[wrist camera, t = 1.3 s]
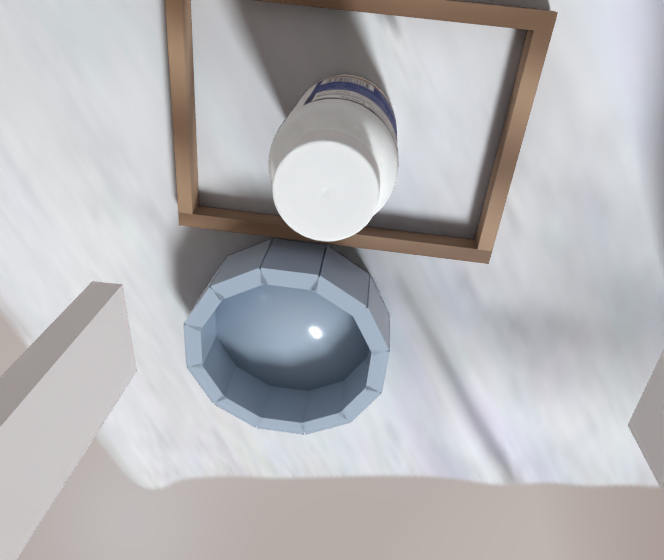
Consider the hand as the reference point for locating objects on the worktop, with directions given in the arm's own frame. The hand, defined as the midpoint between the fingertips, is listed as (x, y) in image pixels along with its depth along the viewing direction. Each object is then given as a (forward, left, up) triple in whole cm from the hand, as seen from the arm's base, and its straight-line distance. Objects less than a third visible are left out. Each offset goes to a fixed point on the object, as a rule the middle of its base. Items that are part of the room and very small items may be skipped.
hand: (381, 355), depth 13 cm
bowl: (+12, -4, -17) cm, 22 cm away
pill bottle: (-1, -2, -18) cm, 18 cm away
